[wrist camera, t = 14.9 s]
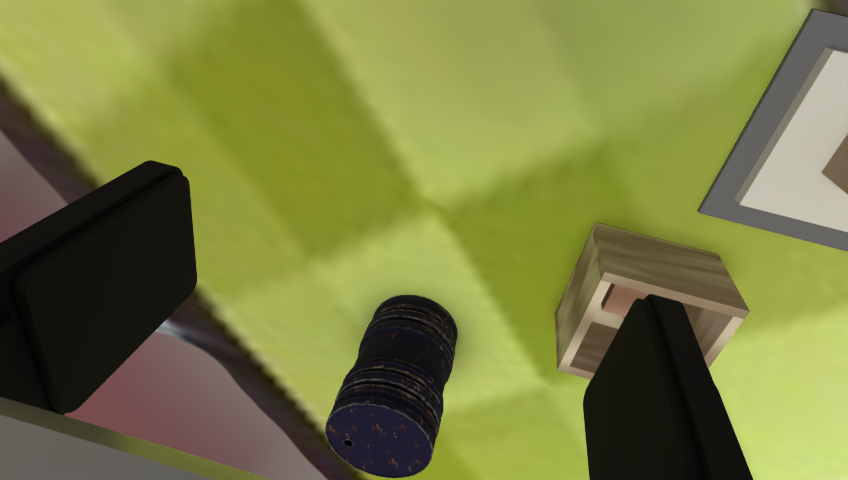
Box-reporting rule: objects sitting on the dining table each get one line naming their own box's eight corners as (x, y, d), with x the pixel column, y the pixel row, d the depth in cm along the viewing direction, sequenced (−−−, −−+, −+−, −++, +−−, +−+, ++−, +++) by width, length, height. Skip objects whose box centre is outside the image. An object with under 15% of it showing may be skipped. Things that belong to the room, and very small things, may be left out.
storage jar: (446, 289, 52) (416, 400, 39) (467, 359, 56) (447, 479, 44) (360, 298, 55) (306, 405, 42) (387, 364, 59) (345, 478, 47)
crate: (595, 222, 45) (604, 272, 38) (718, 254, 44) (749, 311, 37) (555, 312, 51) (557, 370, 44) (662, 342, 50) (681, 405, 43)
